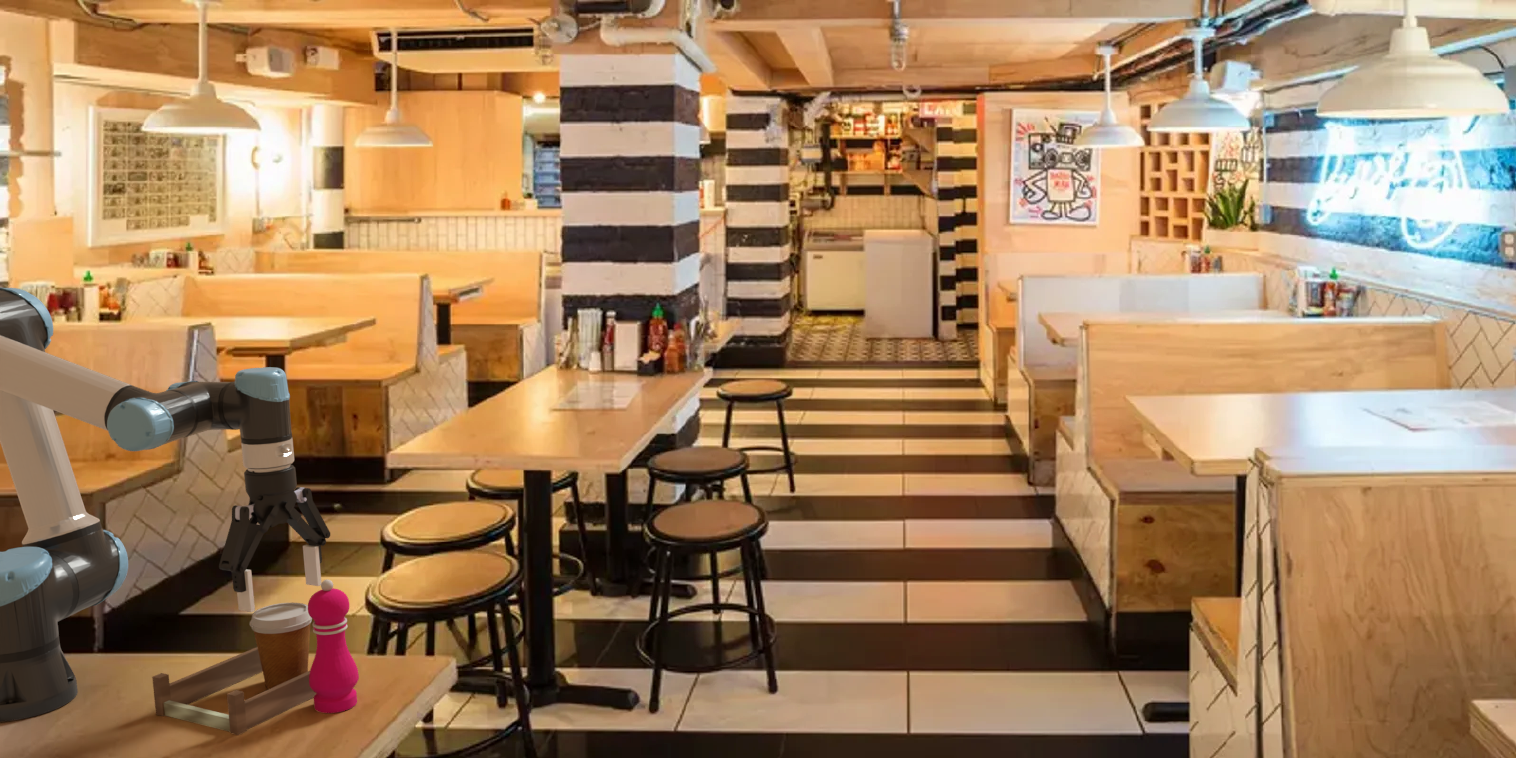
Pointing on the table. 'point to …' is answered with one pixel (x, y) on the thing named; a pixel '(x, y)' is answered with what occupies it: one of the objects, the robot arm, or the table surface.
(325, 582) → the pepper mill
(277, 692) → the bay
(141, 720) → the table surface
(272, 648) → the disposable coffee cup
